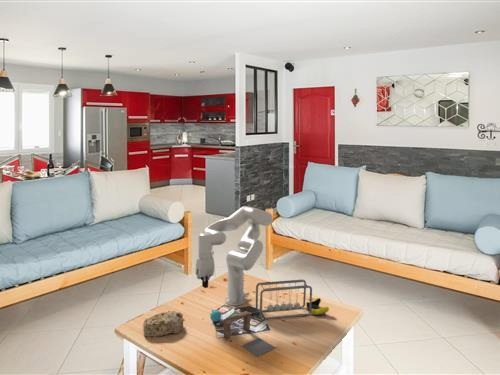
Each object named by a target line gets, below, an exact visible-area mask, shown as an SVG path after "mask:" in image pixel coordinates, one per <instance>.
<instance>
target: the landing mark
mask: <svg viewBox="0 0 500 375" xmlns="http://www.w3.org/2000/svg"><path fill="white" fill-rule="evenodd" d="M240 347H241V348H243V349H244V350H246V351H248V352H249V353H251V354H252V355H254V356H255V357H256V358H258V357H260V356H262V355H265V354H266V353H269V352H270V351H272V350H275V349H277V347H276V346H274V345H273V344H270V343H269V342H268V341H265V340H263V338H261V337H257V338H255V339H253V340H251V341H249V342H246V343H244V344H242V345H240Z"/></svg>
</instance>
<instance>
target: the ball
mask: <svg viewBox="0 0 500 375" xmlns="http://www.w3.org/2000/svg"><path fill="white" fill-rule="evenodd" d="M209 317H210V320H211V321H212V322H215V323H216V322H219V321H220V320H221V319H222V313H221V312H220V311H219V310H217V309H215V310H212V311H211V312H210V316H209Z"/></svg>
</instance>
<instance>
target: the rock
mask: <svg viewBox="0 0 500 375" xmlns="http://www.w3.org/2000/svg"><path fill="white" fill-rule="evenodd" d="M142 324H143V325H142V327H143V328H142V329H143V335H144V337H146V336H147V337H155V338H156V337H160V336H161V337H162V336H167V335H169V334H171V333H172V334H178V333H180V332H182V331H183V329H184V317H183V314H182V312H178V311H175V310H172V311H170V310H169V311H167V312H165V311H164V312H160V313H156V314H154V315H152V316H150V317H146V318H145V320H143V323H142ZM147 337H146V338H147Z"/></svg>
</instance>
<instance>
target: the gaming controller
mask: <svg viewBox="0 0 500 375" xmlns="http://www.w3.org/2000/svg"><path fill="white" fill-rule="evenodd" d="M321 301H322V299H321V297H314V298H313V299H312V304H311V314H310V315H312V314H313V315H314V316H320V315H324V314H326V313H328V312H329V310H330V309H329V308H330V307H329V306H327V305H326V306H323V307H320V305H321ZM309 303H310V301H309V302H308V301H307V302H305V306H306V307H305V308H306V310H307V311H308V312H309Z"/></svg>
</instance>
